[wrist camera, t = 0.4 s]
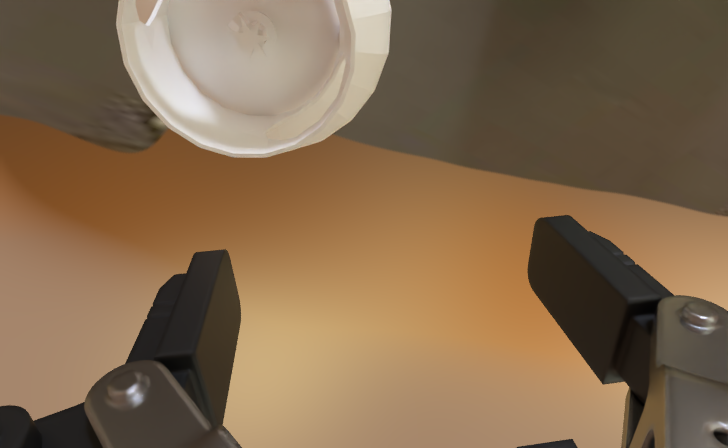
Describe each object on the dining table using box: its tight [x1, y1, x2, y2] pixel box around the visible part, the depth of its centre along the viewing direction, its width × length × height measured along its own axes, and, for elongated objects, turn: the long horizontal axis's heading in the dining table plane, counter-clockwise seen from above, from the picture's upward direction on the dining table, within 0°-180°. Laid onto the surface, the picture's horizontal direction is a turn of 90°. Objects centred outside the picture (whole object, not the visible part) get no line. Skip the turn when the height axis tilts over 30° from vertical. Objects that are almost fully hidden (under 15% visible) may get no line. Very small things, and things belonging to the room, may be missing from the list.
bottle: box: [116, 0, 391, 158], centre depth 21 cm, size 8×8×28 cm
